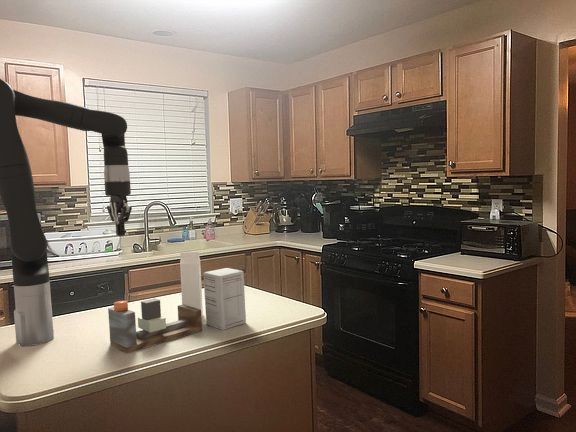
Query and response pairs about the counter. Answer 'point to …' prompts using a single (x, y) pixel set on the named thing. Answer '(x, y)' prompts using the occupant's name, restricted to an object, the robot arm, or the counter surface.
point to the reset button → (121, 306)
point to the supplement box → (224, 298)
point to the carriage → (151, 316)
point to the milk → (191, 280)
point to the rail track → (172, 333)
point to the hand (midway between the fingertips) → (120, 235)
